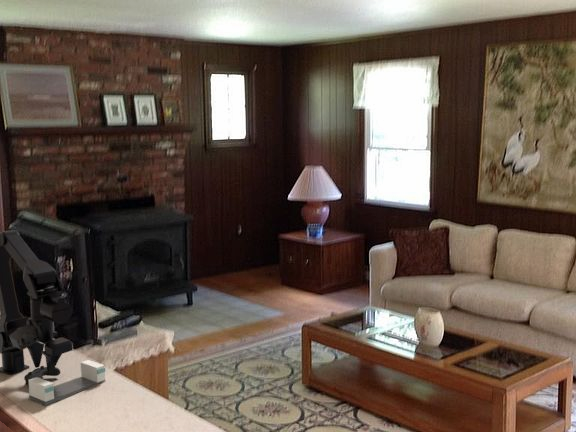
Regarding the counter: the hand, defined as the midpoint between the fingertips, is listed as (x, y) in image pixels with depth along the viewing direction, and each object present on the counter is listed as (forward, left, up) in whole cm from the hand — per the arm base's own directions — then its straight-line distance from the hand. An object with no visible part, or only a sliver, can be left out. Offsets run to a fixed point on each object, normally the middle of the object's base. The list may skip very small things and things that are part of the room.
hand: (43, 370), depth 187 cm
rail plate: (+11, 0, -3) cm, 11 cm away
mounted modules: (+11, 0, -3) cm, 11 cm away
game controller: (+2, 0, -4) cm, 4 cm away
